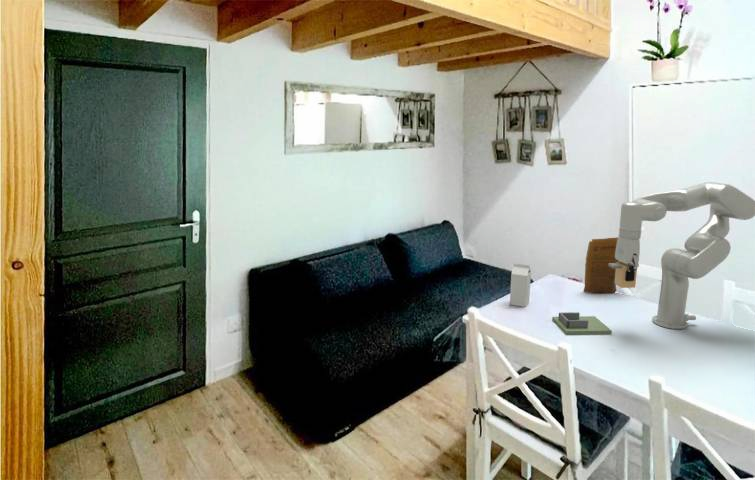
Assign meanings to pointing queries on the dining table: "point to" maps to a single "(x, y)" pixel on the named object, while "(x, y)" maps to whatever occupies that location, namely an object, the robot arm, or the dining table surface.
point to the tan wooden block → (622, 275)
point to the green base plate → (580, 324)
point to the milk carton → (520, 285)
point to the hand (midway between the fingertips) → (625, 278)
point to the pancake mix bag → (600, 266)
